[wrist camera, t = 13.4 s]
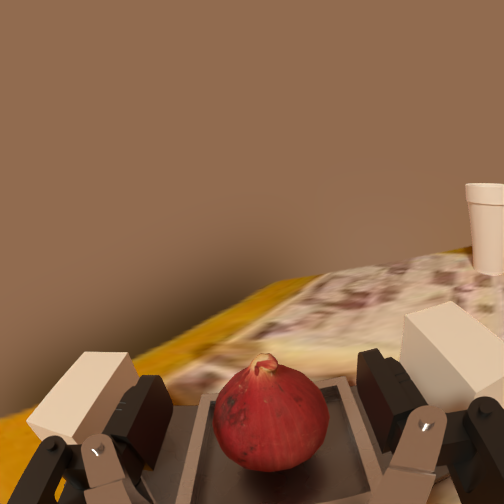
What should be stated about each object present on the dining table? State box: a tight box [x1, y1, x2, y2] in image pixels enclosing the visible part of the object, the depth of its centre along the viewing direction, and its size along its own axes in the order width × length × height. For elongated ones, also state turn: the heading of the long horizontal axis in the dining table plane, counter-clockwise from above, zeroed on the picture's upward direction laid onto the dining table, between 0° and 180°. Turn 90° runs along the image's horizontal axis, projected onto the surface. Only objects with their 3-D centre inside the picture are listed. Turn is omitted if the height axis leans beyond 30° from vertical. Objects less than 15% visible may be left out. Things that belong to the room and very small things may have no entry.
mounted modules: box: [26, 301, 504, 445], centre depth 12 cm, size 26×8×6 cm, turn 89°
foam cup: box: [465, 183, 504, 275], centre depth 29 cm, size 10×9×13 cm
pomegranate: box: [212, 353, 330, 472], centre depth 12 cm, size 6×6×8 cm
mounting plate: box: [64, 376, 451, 504], centre depth 13 cm, size 28×11×2 cm, turn 89°
